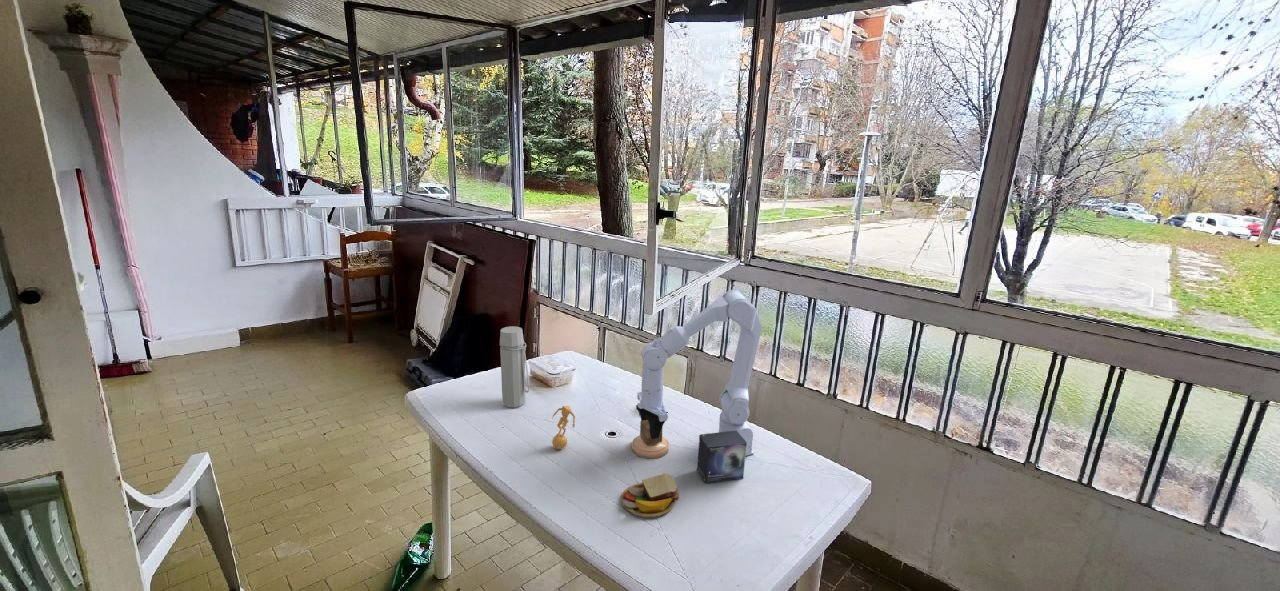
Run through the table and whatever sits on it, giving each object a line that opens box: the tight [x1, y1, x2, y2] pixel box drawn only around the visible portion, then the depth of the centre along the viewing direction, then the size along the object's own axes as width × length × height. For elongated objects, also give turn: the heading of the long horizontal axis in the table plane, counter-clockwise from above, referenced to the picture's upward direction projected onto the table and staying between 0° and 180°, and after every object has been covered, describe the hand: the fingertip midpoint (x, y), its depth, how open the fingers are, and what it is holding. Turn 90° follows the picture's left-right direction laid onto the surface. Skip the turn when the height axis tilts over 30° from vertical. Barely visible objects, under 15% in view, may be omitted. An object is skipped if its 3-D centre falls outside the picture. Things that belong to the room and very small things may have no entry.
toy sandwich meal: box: [620, 472, 680, 518], centre depth 126 cm, size 12×14×5 cm
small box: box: [696, 430, 747, 484], centre depth 136 cm, size 11×6×10 cm, turn 105°
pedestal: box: [631, 434, 670, 459], centre depth 149 cm, size 10×10×2 cm
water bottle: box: [499, 326, 531, 409], centre depth 169 cm, size 9×8×25 cm
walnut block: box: [639, 420, 664, 445], centre depth 147 cm, size 4×4×5 cm
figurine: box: [551, 405, 576, 450], centre depth 147 cm, size 8×6×12 cm
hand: (650, 433), depth 148 cm, fingers closed on walnut block, 4 cm apart
